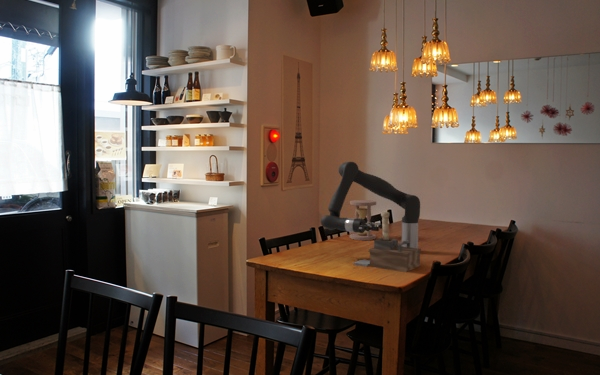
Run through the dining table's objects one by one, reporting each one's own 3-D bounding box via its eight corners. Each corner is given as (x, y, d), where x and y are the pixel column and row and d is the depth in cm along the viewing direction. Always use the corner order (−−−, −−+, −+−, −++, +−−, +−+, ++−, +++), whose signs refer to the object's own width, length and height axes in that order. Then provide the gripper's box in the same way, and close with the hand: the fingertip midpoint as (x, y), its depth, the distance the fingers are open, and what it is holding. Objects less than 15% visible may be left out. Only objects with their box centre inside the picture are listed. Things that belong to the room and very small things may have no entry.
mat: (362, 261, 275) (362, 259, 275) (376, 263, 270) (376, 261, 270) (353, 264, 267) (353, 262, 267) (367, 266, 262) (367, 264, 262)
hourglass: (380, 239, 342) (380, 202, 340) (356, 241, 337) (356, 202, 335) (368, 235, 359) (369, 199, 357) (345, 236, 353) (345, 200, 352)
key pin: (384, 246, 268) (383, 211, 266) (391, 246, 266) (390, 212, 263) (380, 247, 265) (379, 213, 262) (387, 248, 262) (387, 213, 260)
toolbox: (383, 260, 276) (384, 236, 275) (420, 266, 264) (421, 240, 263) (368, 266, 262) (368, 240, 261) (406, 272, 250) (407, 245, 249)
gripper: (348, 219, 269) (376, 222, 260) (362, 217, 281) (389, 219, 271) (348, 234, 270) (376, 237, 260) (361, 230, 281) (389, 233, 272)
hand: (382, 228), depth 266 cm, fingers open, 8 cm apart
